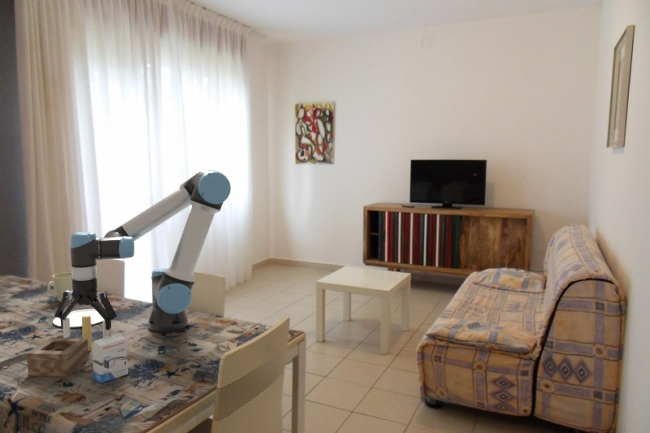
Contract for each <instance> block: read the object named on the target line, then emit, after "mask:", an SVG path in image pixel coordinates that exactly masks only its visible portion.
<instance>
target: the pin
mask: <svg viewBox="0 0 650 433" xmlns="http://www.w3.org/2000/svg"><path fill="white" fill-rule="evenodd" d="M81 331H82V332H81V333H82V339H88V352H91V351H93V348H92V342H93V335H92V333H93V332H92V325H91V316H90V315H85V316H82V327H81Z"/></svg>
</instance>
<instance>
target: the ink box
mask: <svg viewBox="0 0 650 433" xmlns="http://www.w3.org/2000/svg"><path fill="white" fill-rule="evenodd" d="M128 360H129V359H128V338H127V337H125V336H123V335H122V334H119V333H117V334H114V335H109V337H106V338H103V337H102V338H99V339H96V340H93V341H92V364H93V365H92V366H93V367H92V368H93V379H94V380H95V381H96V382H98V383H100V384H103V383H106V382H108V381H112V380H114V379H118V378H121V377H123V376H125V375H129V361H128Z"/></svg>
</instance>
